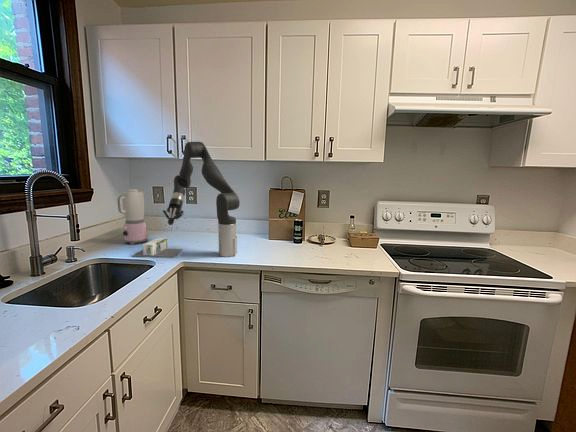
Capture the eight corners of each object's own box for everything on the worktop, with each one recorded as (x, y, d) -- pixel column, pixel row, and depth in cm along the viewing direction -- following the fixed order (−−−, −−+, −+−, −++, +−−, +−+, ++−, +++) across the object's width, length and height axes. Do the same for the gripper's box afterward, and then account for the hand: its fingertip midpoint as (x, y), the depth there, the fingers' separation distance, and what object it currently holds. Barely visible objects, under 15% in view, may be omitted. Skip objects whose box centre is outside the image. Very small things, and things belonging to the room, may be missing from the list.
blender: (139, 238, 183) (135, 188, 178) (152, 241, 177) (149, 189, 172) (114, 244, 169) (110, 189, 164) (127, 247, 164) (123, 191, 158)
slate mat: (182, 249, 161) (182, 248, 161) (173, 257, 148) (173, 256, 147) (144, 249, 161) (144, 248, 161) (131, 256, 147) (131, 255, 147)
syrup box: (168, 248, 162) (153, 255, 148) (158, 247, 162) (142, 255, 148) (167, 238, 161) (152, 245, 147) (157, 237, 162) (142, 244, 147)
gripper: (164, 197, 177) (156, 220, 167) (185, 197, 177) (179, 220, 167) (167, 204, 183) (161, 227, 173) (188, 205, 183) (183, 227, 173)
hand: (170, 224), depth 170 cm, fingers closed
